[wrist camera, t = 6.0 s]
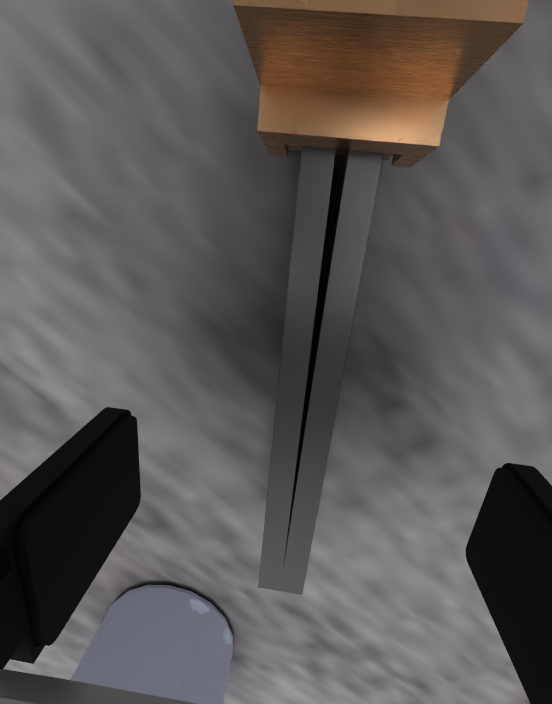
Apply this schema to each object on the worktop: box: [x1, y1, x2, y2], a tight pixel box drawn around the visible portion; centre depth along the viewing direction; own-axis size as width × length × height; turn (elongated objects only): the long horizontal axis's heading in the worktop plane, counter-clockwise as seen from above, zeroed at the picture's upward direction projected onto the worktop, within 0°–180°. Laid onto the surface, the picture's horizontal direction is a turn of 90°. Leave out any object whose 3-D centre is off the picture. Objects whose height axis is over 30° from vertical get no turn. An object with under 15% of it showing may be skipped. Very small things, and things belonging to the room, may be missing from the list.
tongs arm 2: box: [280, 150, 384, 595], centre depth 15 cm, size 18×1×5 cm, turn 174°
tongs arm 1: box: [258, 146, 336, 591], centre depth 16 cm, size 18×1×5 cm, turn 175°
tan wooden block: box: [233, 0, 529, 168], centre depth 9 cm, size 2×5×6 cm, turn 84°
